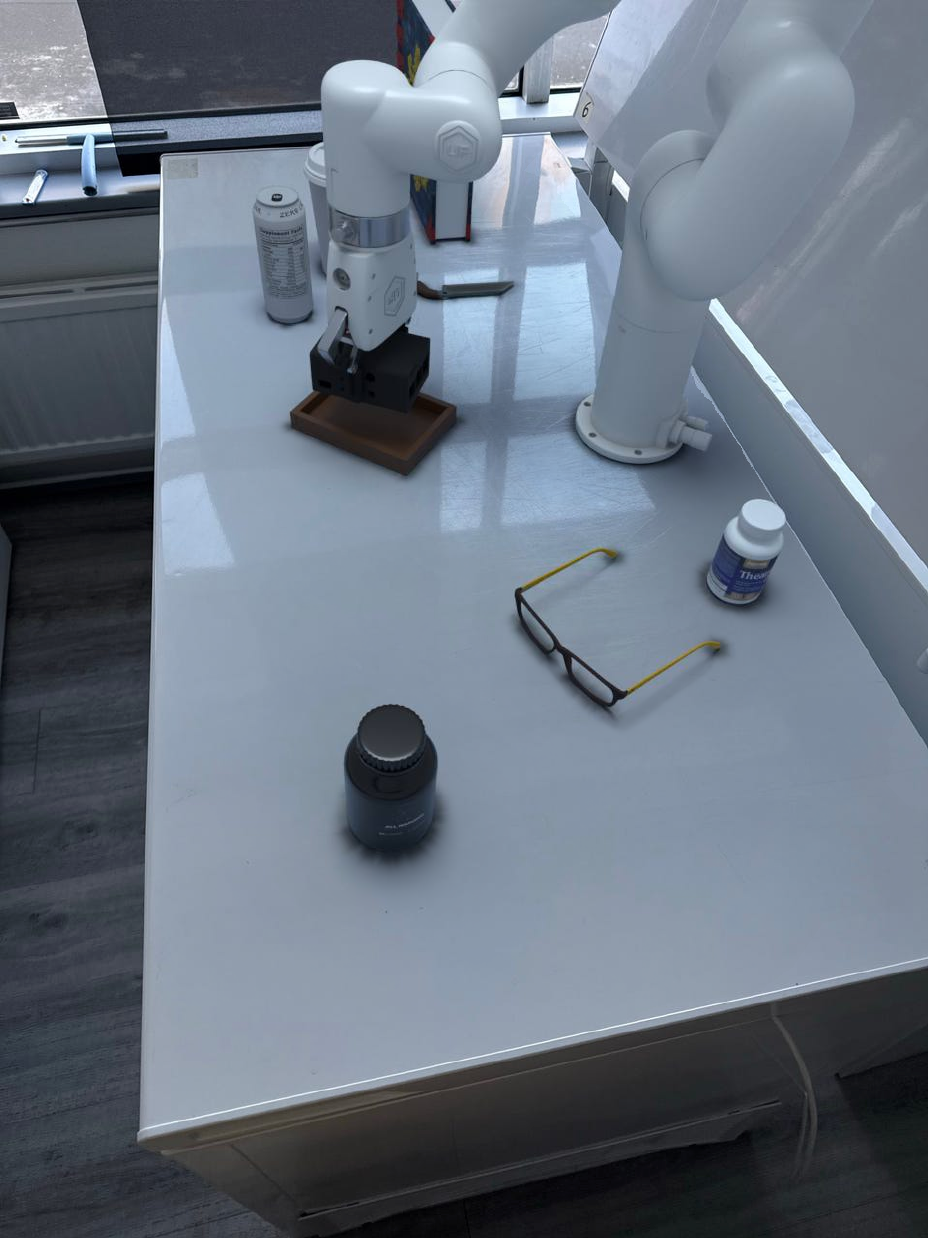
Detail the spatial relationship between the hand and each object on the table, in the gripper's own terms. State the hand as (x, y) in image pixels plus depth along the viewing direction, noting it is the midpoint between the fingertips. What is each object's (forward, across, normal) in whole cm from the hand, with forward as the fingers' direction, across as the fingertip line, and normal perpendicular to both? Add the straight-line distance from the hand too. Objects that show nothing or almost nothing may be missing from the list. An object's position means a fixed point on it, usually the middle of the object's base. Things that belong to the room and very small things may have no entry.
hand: (372, 375), depth 96 cm
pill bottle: (+6, -2, -43) cm, 44 cm away
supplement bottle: (+7, -40, -27) cm, 49 cm away
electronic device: (+1, 0, 0) cm, 1 cm away
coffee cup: (+7, +26, +21) cm, 34 cm away
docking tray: (+6, 0, 0) cm, 6 cm away
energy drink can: (+7, +13, +21) cm, 26 cm away
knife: (+6, +30, +5) cm, 31 cm away
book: (+7, +49, +21) cm, 54 cm away
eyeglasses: (+6, -14, -35) cm, 38 cm away
